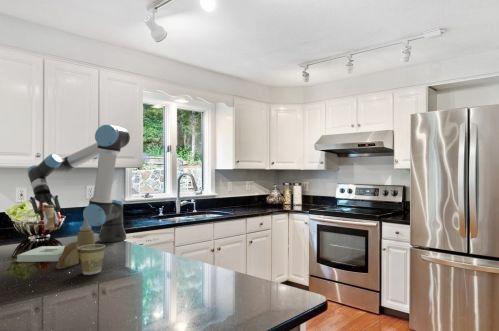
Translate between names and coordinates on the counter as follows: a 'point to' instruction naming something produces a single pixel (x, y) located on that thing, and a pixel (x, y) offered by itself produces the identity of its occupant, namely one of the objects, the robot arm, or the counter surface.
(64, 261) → the rock
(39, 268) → the counter surface
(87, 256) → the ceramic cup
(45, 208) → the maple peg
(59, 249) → the socket board
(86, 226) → the squeeze bottle
